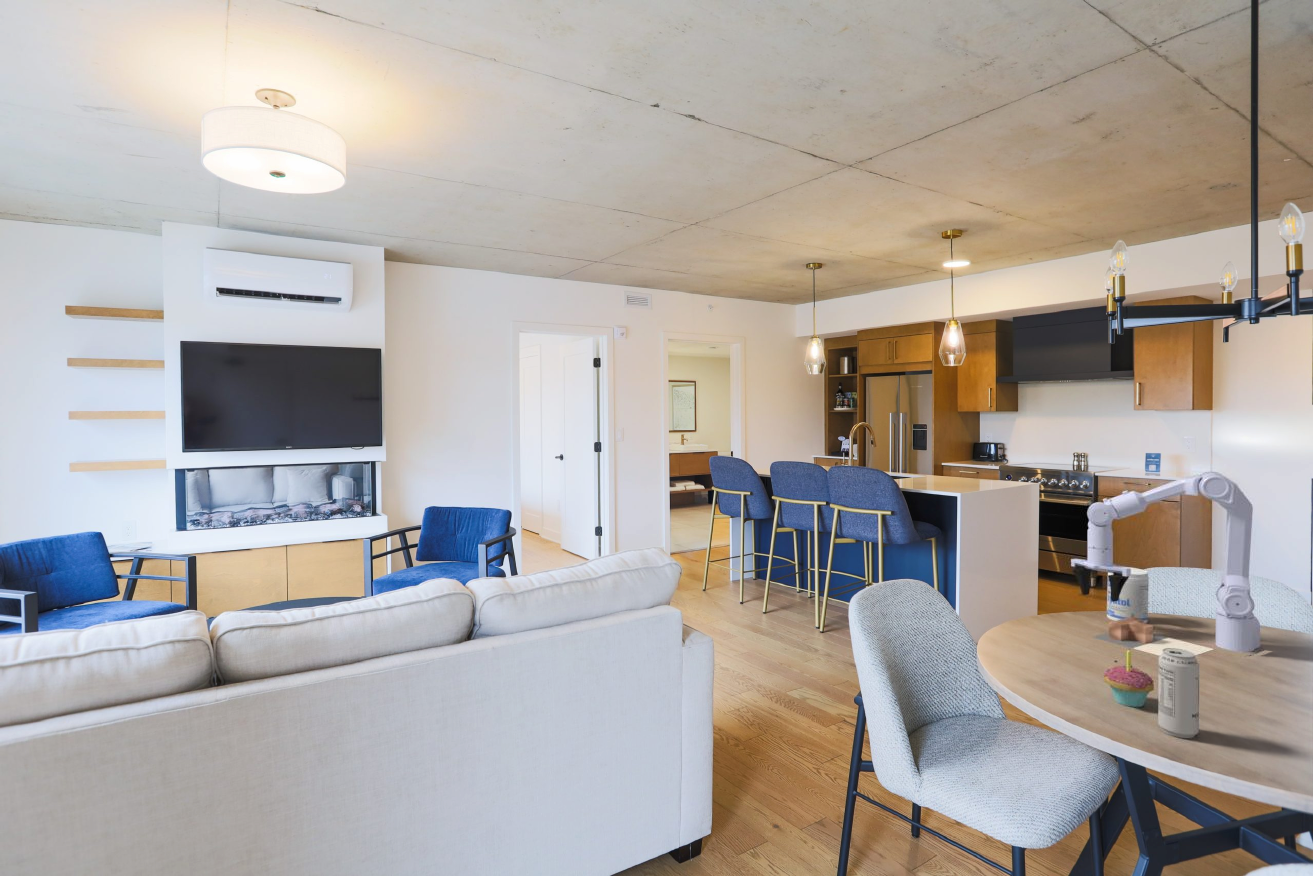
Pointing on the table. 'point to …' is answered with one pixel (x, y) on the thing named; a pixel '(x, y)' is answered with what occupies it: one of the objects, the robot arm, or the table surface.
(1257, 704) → the table surface
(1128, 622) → the t block
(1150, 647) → the board
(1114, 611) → the supplement tub
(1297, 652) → the table surface
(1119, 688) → the cupcake
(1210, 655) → the table surface
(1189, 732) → the energy drink can
